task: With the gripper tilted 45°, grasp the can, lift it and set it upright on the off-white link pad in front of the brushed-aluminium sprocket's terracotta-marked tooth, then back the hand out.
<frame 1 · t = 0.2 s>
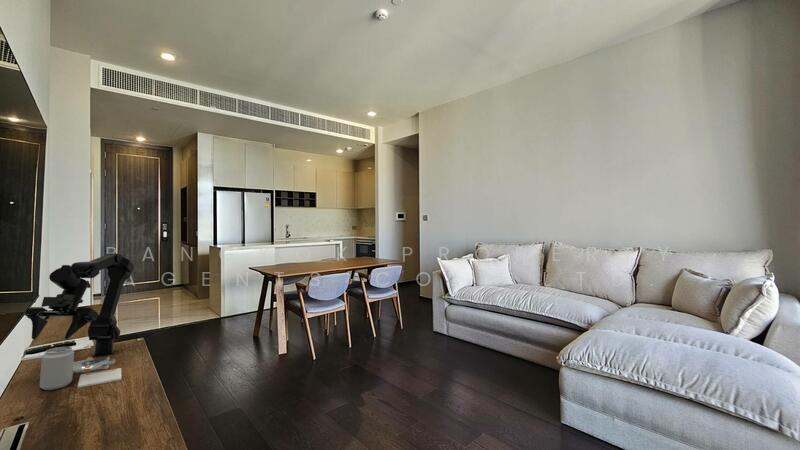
hand: (49, 338, 112), 15 cm above the tv stand, tool tilted 35°, fingers open, 9 cm apart
sprocket: (88, 366, 127), on the tv stand
can: (55, 386, 111), on the tv stand
link pad: (100, 378, 118), on the tv stand
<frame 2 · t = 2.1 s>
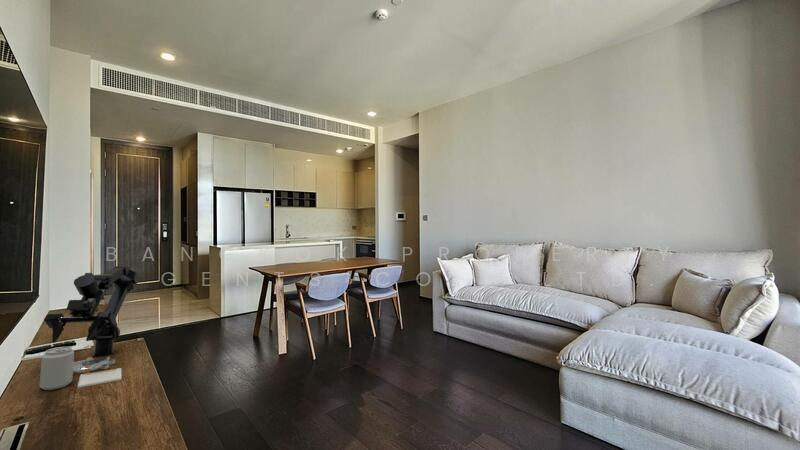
hand: (70, 341, 117), 13 cm above the tv stand, tool tilted 45°, fingers open, 9 cm apart
nothing on the tv stand moved.
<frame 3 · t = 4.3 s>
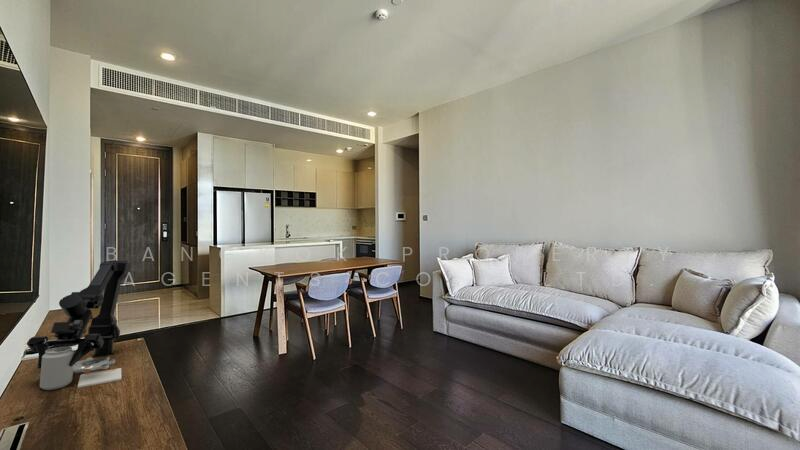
hand: (55, 367, 110), 7 cm above the tv stand, tool tilted 45°, fingers closed on can, 7 cm apart
can: (55, 386, 111), on the tv stand, touching gripper
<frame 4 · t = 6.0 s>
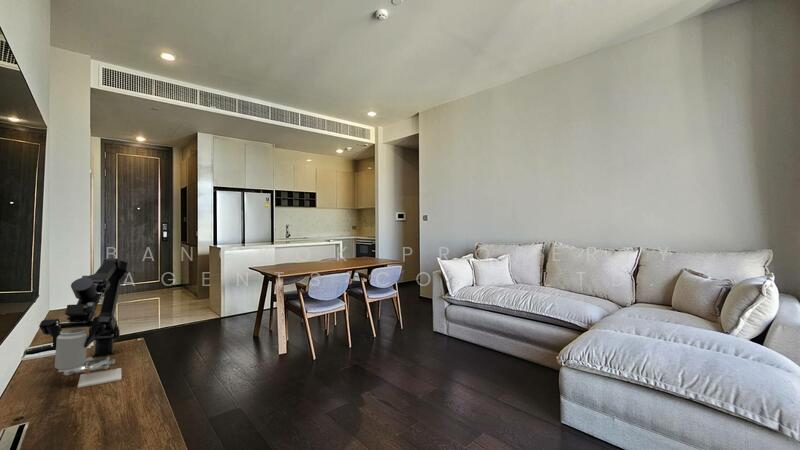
hand: (70, 348, 112), 12 cm above the tv stand, tool tilted 45°, fingers closed on can, 7 cm apart
can: (70, 367, 113), point 5 cm above the tv stand, touching gripper
when the fingers open (8 cm above the tv stand, at t = 8.2 s): can stays where it is, resting on link pad.
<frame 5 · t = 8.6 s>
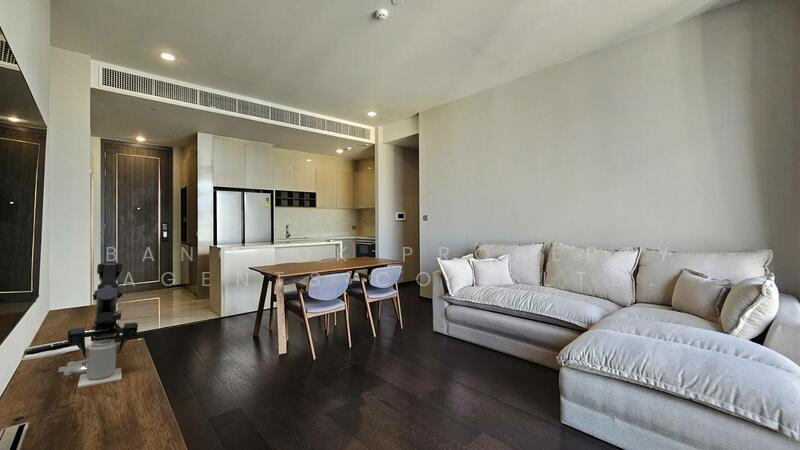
hand: (102, 354, 117), 9 cm above the tv stand, tool tilted 45°, fingers open, 9 cm apart
can: (100, 376, 118), resting on link pad
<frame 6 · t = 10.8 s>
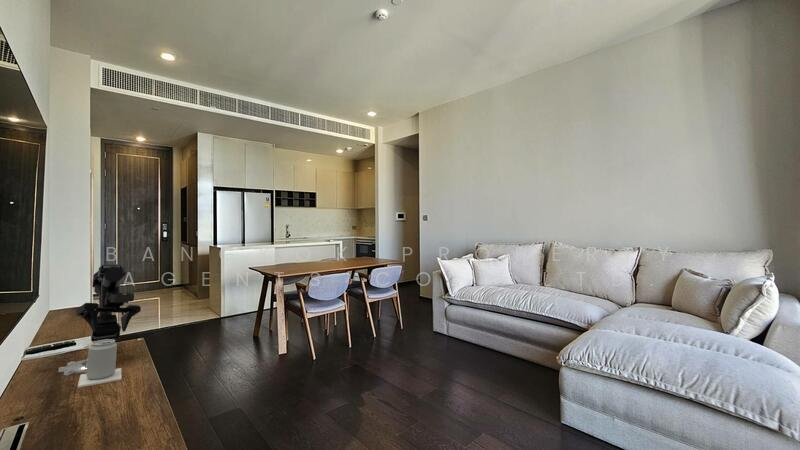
hand: (110, 331, 127), 13 cm above the tv stand, tool tilted 35°, fingers open, 9 cm apart
nothing on the tv stand moved.
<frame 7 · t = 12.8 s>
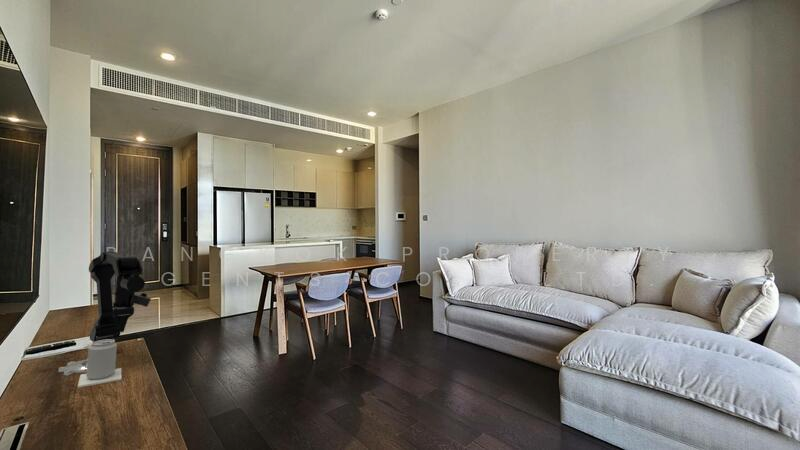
hand: (121, 329, 132), 13 cm above the tv stand, tool pointing down, fingers open, 9 cm apart
nothing on the tv stand moved.
at the end: can 0.2 cm off-centre on the link pad, point 0.4 cm above the link pad's base; can tilted 0°; the gripper is holding nothing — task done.
